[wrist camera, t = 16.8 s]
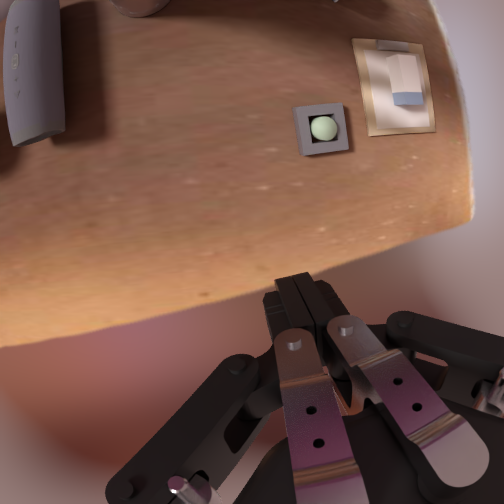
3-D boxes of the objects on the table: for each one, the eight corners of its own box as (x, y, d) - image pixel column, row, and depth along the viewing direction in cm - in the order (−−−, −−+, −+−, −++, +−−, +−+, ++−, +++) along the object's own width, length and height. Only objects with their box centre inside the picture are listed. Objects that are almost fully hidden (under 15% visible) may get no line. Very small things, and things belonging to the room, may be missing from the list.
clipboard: (351, 39, 35) (354, 37, 34) (420, 45, 36) (425, 44, 35) (367, 135, 42) (372, 136, 41) (433, 131, 42) (438, 132, 41)
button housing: (292, 107, 39) (295, 107, 37) (336, 103, 40) (342, 102, 38) (299, 154, 42) (303, 155, 40) (343, 148, 42) (348, 149, 41)
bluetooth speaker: (26, 23, 27) (-6, 11, 17) (72, 1, 27) (45, -20, 18) (33, 144, 36) (-3, 152, 27) (81, 127, 36) (48, 129, 27)
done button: (306, 118, 40) (312, 117, 37) (328, 115, 40) (335, 115, 38) (310, 140, 41) (316, 141, 39) (331, 138, 41) (338, 139, 39)
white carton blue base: (385, 57, 36) (397, 54, 33) (403, 58, 36) (415, 55, 33) (394, 104, 39) (406, 104, 36) (410, 104, 40) (423, 104, 36)
